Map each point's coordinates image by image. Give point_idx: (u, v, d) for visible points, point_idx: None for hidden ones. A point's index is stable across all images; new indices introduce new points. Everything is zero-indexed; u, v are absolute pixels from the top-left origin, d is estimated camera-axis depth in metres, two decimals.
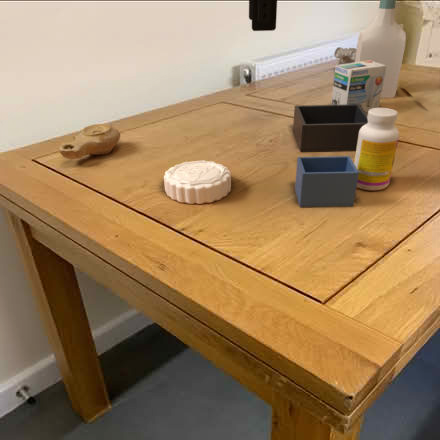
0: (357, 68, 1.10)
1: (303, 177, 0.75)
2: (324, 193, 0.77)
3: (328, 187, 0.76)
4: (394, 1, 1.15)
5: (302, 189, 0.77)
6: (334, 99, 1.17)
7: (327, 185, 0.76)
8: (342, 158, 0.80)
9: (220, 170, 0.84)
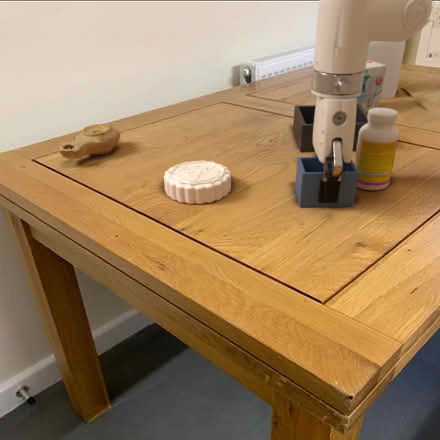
0: None
1: (303, 177, 0.75)
2: None
3: None
4: None
5: (302, 189, 0.77)
6: None
7: None
8: (342, 158, 0.80)
9: (220, 170, 0.84)
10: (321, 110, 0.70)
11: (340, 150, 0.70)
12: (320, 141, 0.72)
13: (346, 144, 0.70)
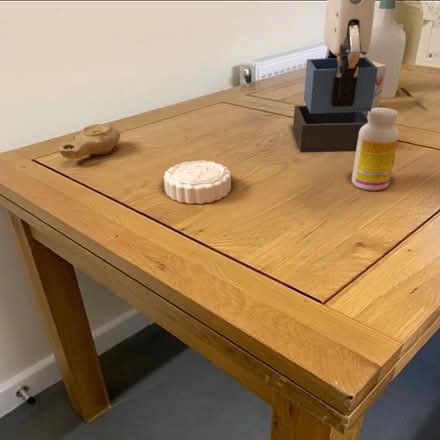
0: None
1: (314, 75, 0.66)
2: None
3: None
4: (394, 1, 1.15)
5: (313, 90, 0.67)
6: None
7: None
8: None
9: (220, 170, 0.84)
10: None
11: (357, 34, 0.61)
12: (334, 27, 0.62)
13: (364, 28, 0.61)
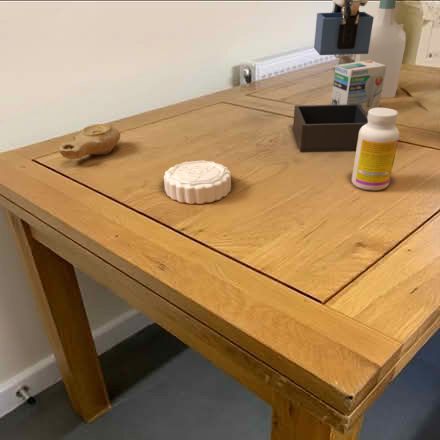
0: (357, 68, 1.10)
1: (323, 22, 0.84)
2: None
3: None
4: (394, 1, 1.15)
5: (322, 35, 0.85)
6: (334, 99, 1.17)
7: None
8: None
9: (220, 170, 0.84)
10: None
11: None
12: None
13: None
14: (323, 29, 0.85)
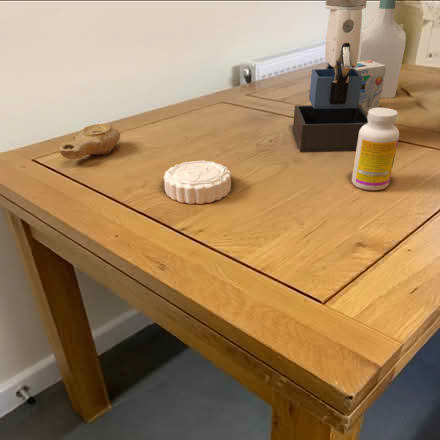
0: (357, 68, 1.10)
1: (317, 81, 0.92)
2: None
3: None
4: (394, 1, 1.15)
5: (316, 92, 0.94)
6: None
7: None
8: (349, 70, 0.97)
9: (220, 170, 0.84)
10: (333, 21, 0.87)
11: (348, 53, 0.87)
12: (332, 48, 0.89)
13: (353, 49, 0.88)
14: (317, 86, 0.93)
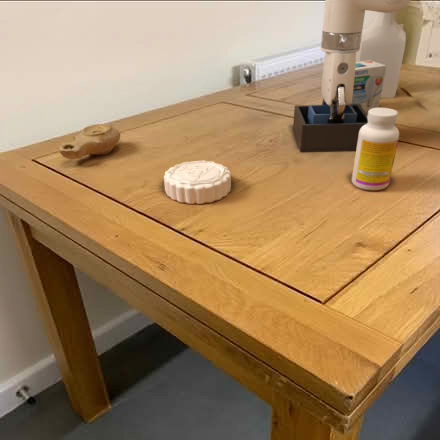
0: (357, 68, 1.10)
1: (314, 118, 0.97)
2: None
3: None
4: None
5: None
6: None
7: None
8: None
9: (220, 170, 0.84)
10: (328, 63, 0.91)
11: (343, 93, 0.91)
12: (328, 88, 0.93)
13: (348, 89, 0.92)
14: (313, 123, 0.98)
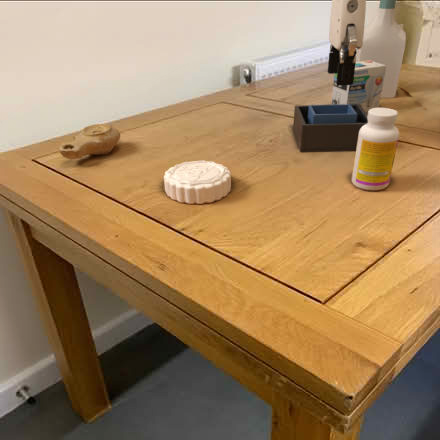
0: (357, 68, 1.10)
1: (314, 118, 0.97)
2: None
3: None
4: (394, 1, 1.15)
5: None
6: (334, 99, 1.17)
7: None
8: (344, 105, 1.02)
9: (220, 170, 0.84)
10: (337, 2, 0.85)
11: (354, 30, 0.85)
12: (336, 29, 0.87)
13: (358, 29, 0.86)
14: (313, 123, 0.98)
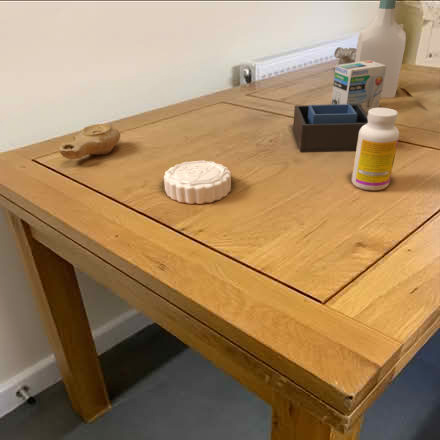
0: (357, 68, 1.10)
1: (314, 118, 0.97)
2: None
3: None
4: (394, 1, 1.15)
5: None
6: (334, 99, 1.17)
7: None
8: (344, 105, 1.02)
9: (220, 170, 0.84)
10: None
11: None
12: None
13: None
14: (313, 123, 0.98)
